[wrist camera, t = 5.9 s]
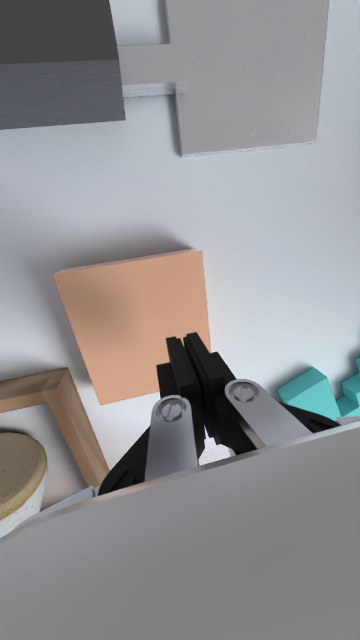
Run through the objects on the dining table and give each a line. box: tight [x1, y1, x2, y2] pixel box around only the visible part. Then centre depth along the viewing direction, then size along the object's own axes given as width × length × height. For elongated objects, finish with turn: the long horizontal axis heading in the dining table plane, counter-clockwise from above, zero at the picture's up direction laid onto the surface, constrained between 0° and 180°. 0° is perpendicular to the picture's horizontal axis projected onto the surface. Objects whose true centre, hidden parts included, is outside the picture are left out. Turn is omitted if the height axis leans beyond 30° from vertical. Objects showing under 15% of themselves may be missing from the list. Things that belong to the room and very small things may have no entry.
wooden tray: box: [0, 368, 110, 512], centre depth 18 cm, size 15×17×2 cm
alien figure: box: [277, 356, 360, 421], centre depth 25 cm, size 20×2×20 cm
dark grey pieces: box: [0, 0, 329, 157], centre depth 10 cm, size 19×7×4 cm, turn 97°
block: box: [52, 249, 211, 405], centre depth 16 cm, size 3×10×9 cm
